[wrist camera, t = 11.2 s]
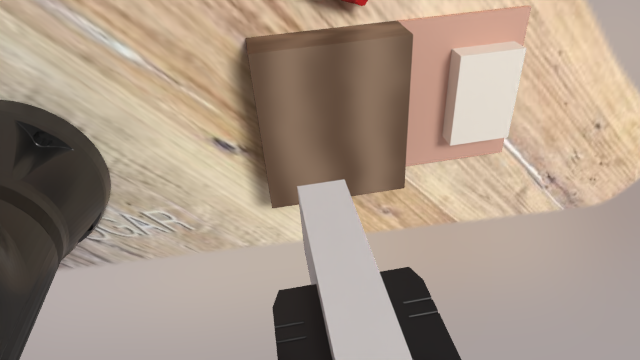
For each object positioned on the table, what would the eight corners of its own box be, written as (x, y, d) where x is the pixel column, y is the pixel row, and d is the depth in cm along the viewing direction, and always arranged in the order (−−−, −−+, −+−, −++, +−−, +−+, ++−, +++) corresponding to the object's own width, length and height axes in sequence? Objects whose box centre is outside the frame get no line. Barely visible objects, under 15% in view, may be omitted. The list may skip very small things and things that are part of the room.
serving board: (269, 184, 45) (272, 208, 42) (245, 38, 37) (247, 54, 34) (392, 166, 47) (404, 188, 44) (397, 20, 38) (413, 34, 35)
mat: (392, 166, 47) (393, 168, 46) (397, 20, 38) (399, 21, 38) (499, 150, 48) (501, 152, 48) (528, 5, 39) (531, 6, 39)
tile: (507, 137, 44) (497, 127, 46) (526, 48, 39) (514, 40, 41) (450, 145, 44) (442, 135, 45) (461, 56, 38) (451, 48, 40)
